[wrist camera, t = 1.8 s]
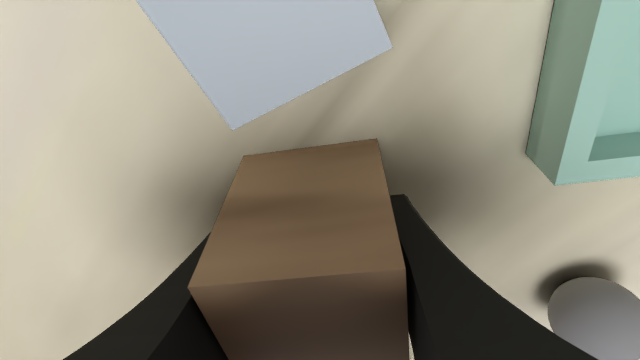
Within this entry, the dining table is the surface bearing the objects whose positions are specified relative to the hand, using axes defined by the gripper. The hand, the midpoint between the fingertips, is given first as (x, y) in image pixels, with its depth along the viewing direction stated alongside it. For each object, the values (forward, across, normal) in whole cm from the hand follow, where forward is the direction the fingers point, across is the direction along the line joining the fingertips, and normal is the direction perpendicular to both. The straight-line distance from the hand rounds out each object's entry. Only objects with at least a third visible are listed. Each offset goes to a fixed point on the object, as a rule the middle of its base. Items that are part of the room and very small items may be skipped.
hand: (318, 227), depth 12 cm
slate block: (+2, 0, -7) cm, 7 cm away
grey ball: (0, -10, +6) cm, 12 cm away
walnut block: (+2, 0, 0) cm, 2 cm away
